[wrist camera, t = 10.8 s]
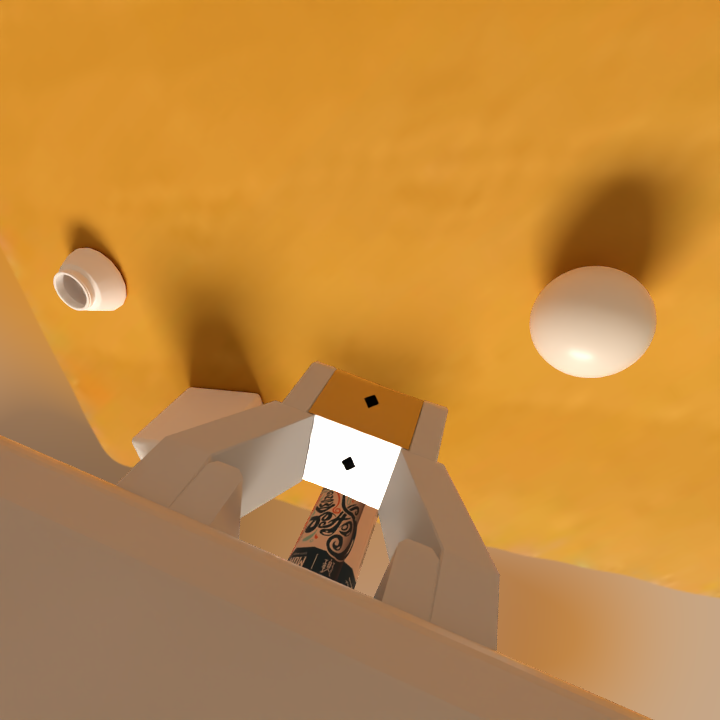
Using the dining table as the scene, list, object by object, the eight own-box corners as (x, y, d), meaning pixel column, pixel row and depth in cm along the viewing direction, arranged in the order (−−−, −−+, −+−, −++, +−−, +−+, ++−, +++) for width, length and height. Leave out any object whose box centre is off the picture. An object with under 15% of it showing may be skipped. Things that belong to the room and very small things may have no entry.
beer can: (374, 446, 34) (316, 588, 24) (399, 489, 36) (354, 638, 26) (325, 455, 36) (255, 588, 27) (351, 495, 38) (294, 634, 28)
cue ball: (686, 372, 18) (688, 267, 20) (564, 326, 18) (579, 225, 20) (597, 405, 23) (606, 319, 25) (501, 370, 23) (519, 286, 25)
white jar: (132, 315, 35) (127, 259, 32) (103, 331, 33) (95, 273, 30) (80, 293, 36) (71, 237, 33) (48, 308, 33) (35, 248, 30)
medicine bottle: (189, 385, 37) (72, 489, 27) (260, 391, 35) (161, 508, 25) (212, 447, 41) (116, 559, 31) (279, 457, 38) (198, 581, 29)
